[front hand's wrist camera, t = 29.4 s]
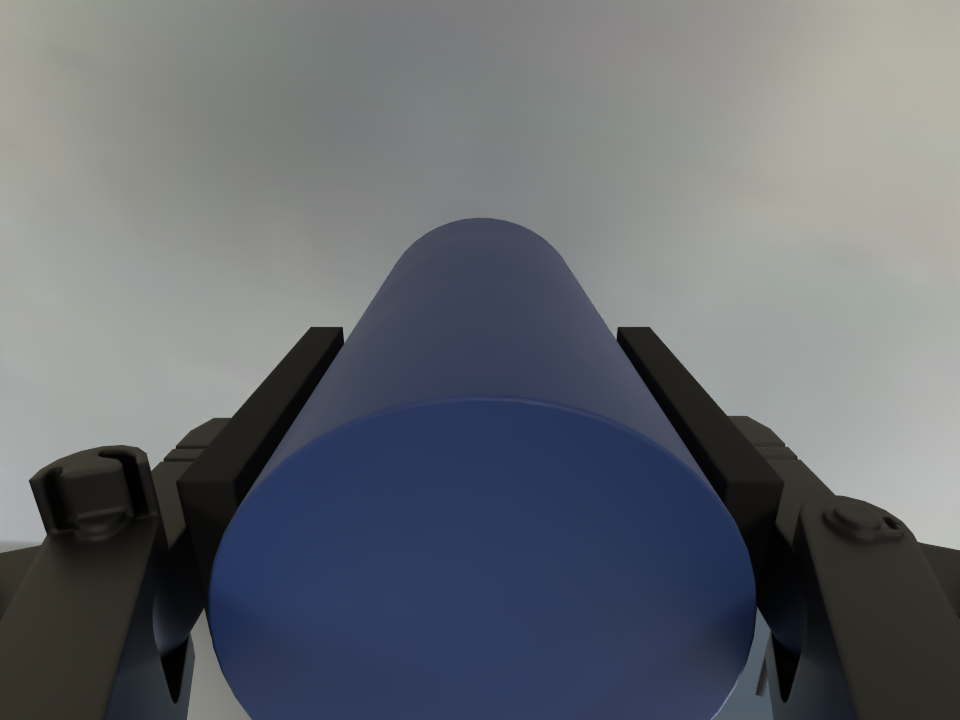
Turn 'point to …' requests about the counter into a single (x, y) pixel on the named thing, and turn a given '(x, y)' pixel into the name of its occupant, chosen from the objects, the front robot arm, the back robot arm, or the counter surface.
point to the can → (482, 518)
